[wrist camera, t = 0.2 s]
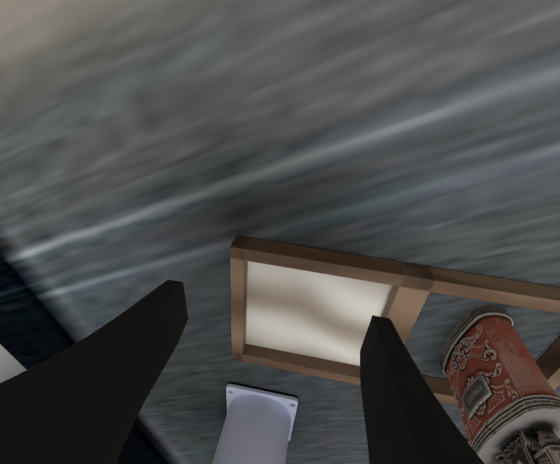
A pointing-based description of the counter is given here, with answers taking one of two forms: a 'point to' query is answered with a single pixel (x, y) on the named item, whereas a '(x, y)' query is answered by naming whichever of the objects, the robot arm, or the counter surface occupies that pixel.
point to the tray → (348, 306)
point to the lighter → (501, 391)
